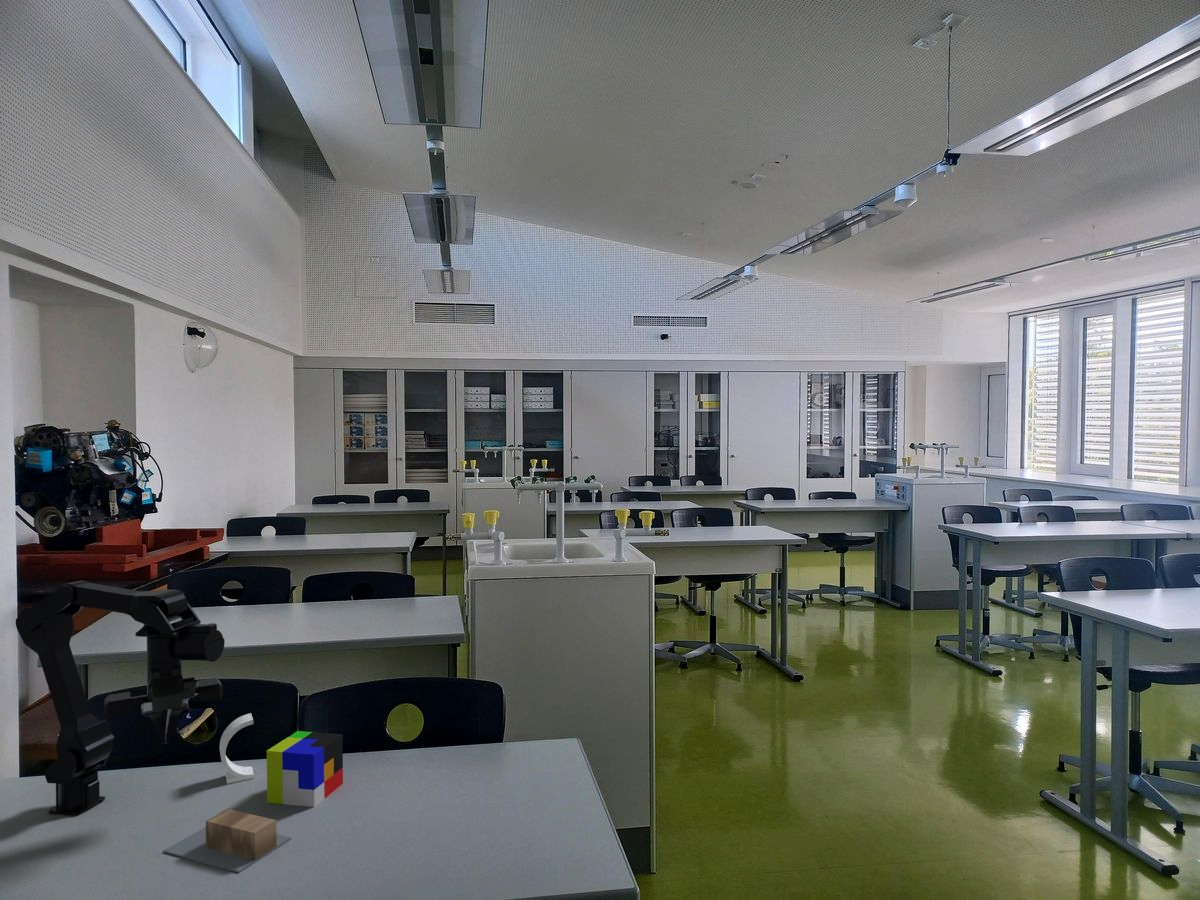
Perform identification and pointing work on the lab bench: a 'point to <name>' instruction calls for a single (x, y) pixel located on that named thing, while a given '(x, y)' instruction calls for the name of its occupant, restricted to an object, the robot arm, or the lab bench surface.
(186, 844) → the slate mat
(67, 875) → the lab bench surface
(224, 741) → the headphone stand
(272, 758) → the puzzle toy
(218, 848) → the walnut block
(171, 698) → the robot arm
